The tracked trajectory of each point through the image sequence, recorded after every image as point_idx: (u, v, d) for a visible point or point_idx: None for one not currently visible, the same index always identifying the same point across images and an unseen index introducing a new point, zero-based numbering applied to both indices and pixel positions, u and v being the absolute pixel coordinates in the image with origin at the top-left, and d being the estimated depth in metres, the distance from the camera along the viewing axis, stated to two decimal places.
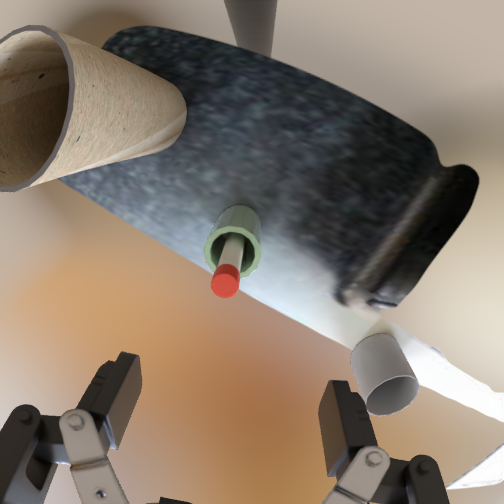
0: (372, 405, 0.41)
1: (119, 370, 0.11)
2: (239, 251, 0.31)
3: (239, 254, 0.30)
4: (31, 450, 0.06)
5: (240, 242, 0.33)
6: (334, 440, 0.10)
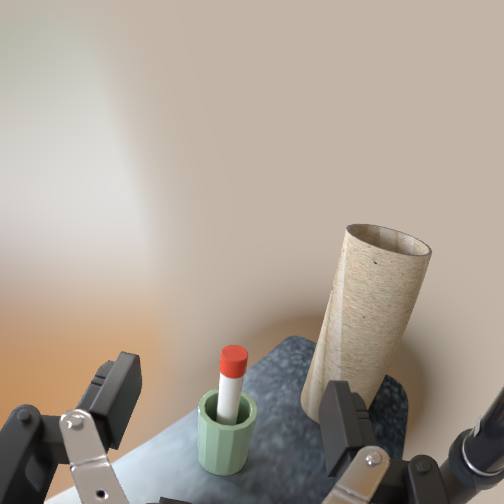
0: None
1: (119, 370, 0.11)
2: (234, 407, 0.27)
3: (234, 403, 0.27)
4: (31, 450, 0.06)
5: (232, 422, 0.28)
6: (334, 440, 0.10)
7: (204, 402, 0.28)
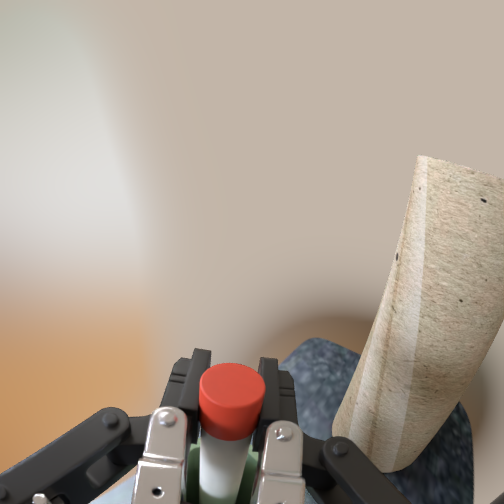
0: None
1: (198, 366, 0.12)
2: (233, 484, 0.11)
3: (232, 478, 0.11)
4: (103, 453, 0.07)
5: (230, 502, 0.12)
6: None
7: None
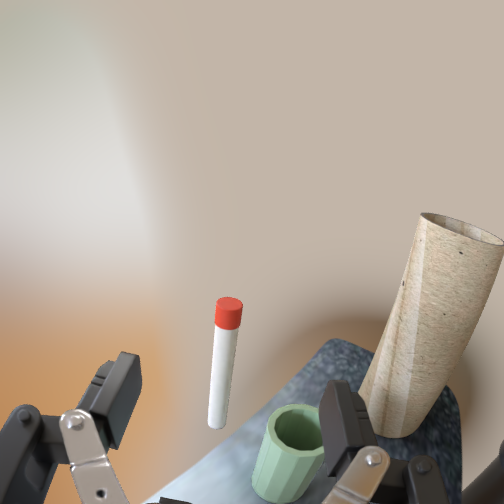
0: None
1: (119, 370, 0.11)
2: (229, 365, 0.28)
3: (228, 360, 0.28)
4: (31, 450, 0.06)
5: (227, 383, 0.29)
6: (334, 440, 0.10)
7: (273, 424, 0.22)
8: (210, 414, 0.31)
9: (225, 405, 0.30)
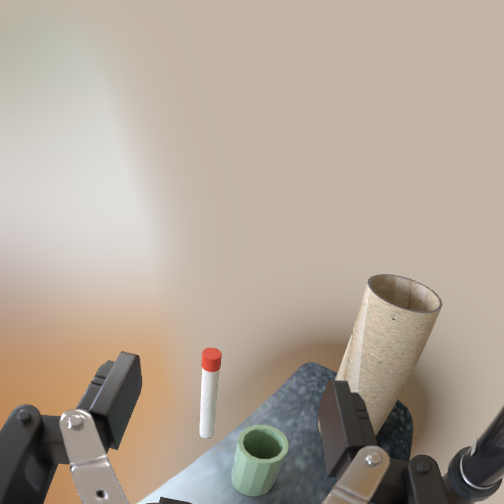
0: None
1: (119, 370, 0.11)
2: (213, 394, 0.36)
3: (212, 391, 0.36)
4: (31, 450, 0.06)
5: (212, 406, 0.37)
6: (334, 440, 0.10)
7: (242, 439, 0.31)
8: (201, 427, 0.39)
9: (212, 421, 0.39)
